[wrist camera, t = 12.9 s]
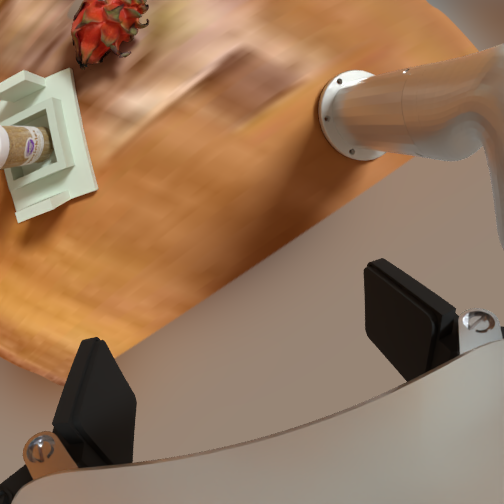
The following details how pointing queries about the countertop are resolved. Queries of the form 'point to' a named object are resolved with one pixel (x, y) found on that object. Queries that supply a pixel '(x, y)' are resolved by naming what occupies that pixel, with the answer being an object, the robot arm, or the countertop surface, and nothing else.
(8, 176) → the caddy
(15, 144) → the sprinkles bottle
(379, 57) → the countertop surface
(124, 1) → the dragon fruit
